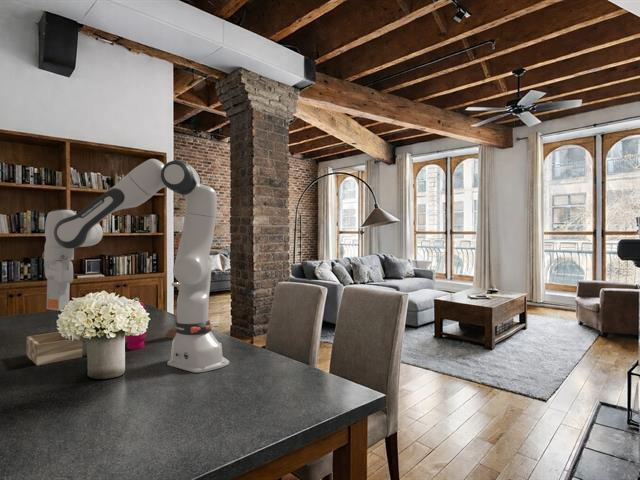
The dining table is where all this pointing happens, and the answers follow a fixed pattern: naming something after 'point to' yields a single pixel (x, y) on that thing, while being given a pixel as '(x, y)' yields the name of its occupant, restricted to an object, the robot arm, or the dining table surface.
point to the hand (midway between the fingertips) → (58, 293)
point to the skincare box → (56, 295)
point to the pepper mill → (136, 338)
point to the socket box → (52, 348)
